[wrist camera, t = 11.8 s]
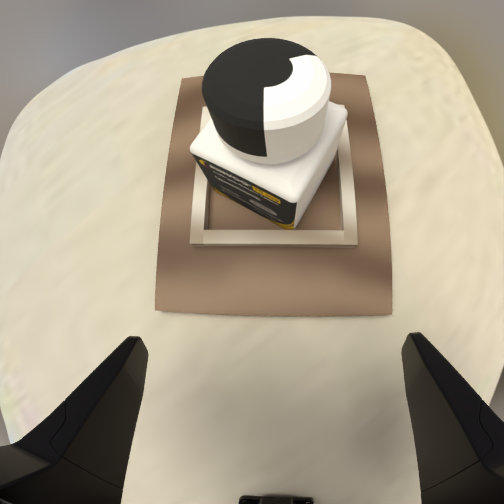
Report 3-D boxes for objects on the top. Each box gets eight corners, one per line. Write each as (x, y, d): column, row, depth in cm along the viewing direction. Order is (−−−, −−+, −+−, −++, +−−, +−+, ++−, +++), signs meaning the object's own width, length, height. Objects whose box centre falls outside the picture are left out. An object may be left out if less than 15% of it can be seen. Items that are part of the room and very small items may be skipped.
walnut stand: (386, 314, 22) (397, 314, 20) (160, 310, 24) (148, 310, 21) (362, 83, 26) (367, 68, 23) (185, 85, 27) (178, 71, 25)
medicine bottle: (212, 190, 24) (155, 99, 12) (257, 123, 24) (239, 12, 13) (292, 234, 22) (301, 160, 11) (334, 159, 23) (366, 53, 11)
